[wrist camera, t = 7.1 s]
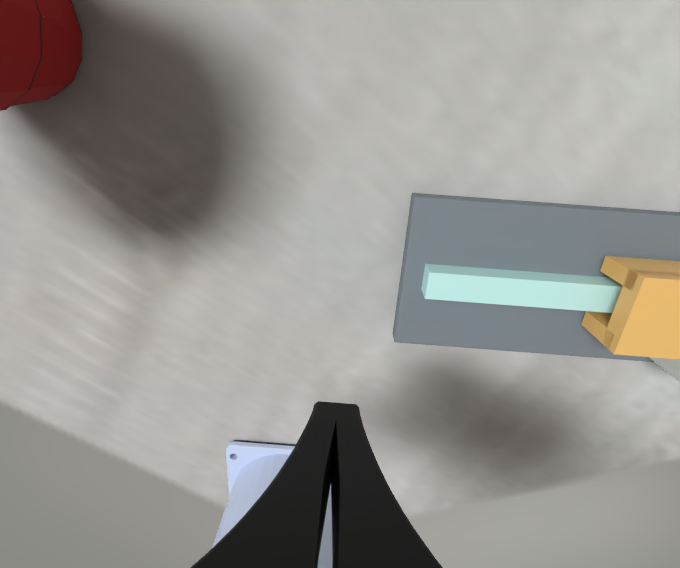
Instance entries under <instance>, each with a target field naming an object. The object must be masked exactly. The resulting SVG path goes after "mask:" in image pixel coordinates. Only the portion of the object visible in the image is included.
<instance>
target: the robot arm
mask: <svg viewBox="0 0 680 568" xmlns="http://www.w3.org/2000/svg"><path fill="white" fill-rule="evenodd" d="M233 454H236V455H233ZM226 459H227V474H228V489H229V499H228V502H227V505H226V508H225V511H224V514H223V517H222V520H221V523H220V526H219V529H218V532H217V535H216V538H215V541H214V544H213V547H212V549H211V550H210V551H209V552H208V553H207V554H206V555H205V556H203V557H202V558H201V559H200V560H199V561H198V562H197V563H195V564H194V565H193V566H192V567H191V568H442V566H441V565H440V564H439V563H438V561H437V560H436V559H435V557H434V556H433V555H432V553H431V552H430V550H429V549H428V548H427V546H426V545H425V544H424V542H423V541H422V539H421V538H420V536H419V535H418V534H417V532H416V531H415V529H414V528H413V526H412V525H411V523H410V522H409V520H408V519H407V517H406V515H405V514H404V512H403V511H402V509H401V507H400V505H399V504H398V502H397V500H396V499H395V497H394V495H393V493H392V491H391V490H390V488H389V486H388V484H387V482H386V480H385V478H384V476H383V474H382V472H381V470H380V468H379V465H378V463H377V461H376V459H375V456H374V454H373V451H372V449H371V447H370V444H369V441H368V439H367V436H366V433H365V430H364V427H363V424H362V420H361V416H360V411H359V407H358V406H357V405H356V404H344V403H331V402H319V401H318V402H317V403H315V405H314V408H313V411H312V414H311V416H310V419H309V421H308V423H307V425H306V427H305V429H304V431H303V433H302V435H301V437H300V438H299V440H298V442H297V444H296V446H286V445H273V444H260V443H248V442H235V441H234V442H230V443H229V444H228V445H227V447H226Z"/></svg>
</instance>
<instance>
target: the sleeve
mask: <svg viewBox="0 0 680 568" xmlns="http://www.w3.org/2000/svg"><path fill="white" fill-rule="evenodd" d="M600 271H601V272H602V273H604V274H605V275H607V276H609V277H610V278H612V279H613V280H615V281H617V282H618V283H620V284H621V285H623V287H622V290H621V292H620V295H619V297H618V300H617V303H616V305H615V308H614V310H613V313H605V312H592V311H586V312H585V315H584V318H583V321H582V324H581V325H582V326H583V327H584V328H586V329H587V330H588V331H589V332H590V333H591V334H592V335H593V336H594V337H595V338H596V339H598V340H599V341H600V342H601V343H602V344H603V345H604V346H605V347H606V348H607V349H608V350H610V351H611V352H612V353H613V354H615V355H628V356H641V357H654V358H667V359H680V261H669V260H656V259H642V258H629V257H615V256H605V258H604V261H603V264H602V267H601V270H600Z"/></svg>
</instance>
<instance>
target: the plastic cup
mask: <svg viewBox="0 0 680 568" xmlns="http://www.w3.org/2000/svg"><path fill="white" fill-rule="evenodd" d="M80 62H81V30H80V27H79V24H78V21H77V18H76V15H75V12H74V9H73V6H72V3H71V1H70V0H0V111H1V110H6V109H7V108H8V107H10V106H12V105H18V104H24V103H29V102H35V101H41V100H46V99H49V98H50V97H51V96H54V95H56V94H58V93H59V92H60V91H61V90H63V89H64V88H65V87H66V86H68V85H69V84H70V83H71V82H72V81H73V79H74V76H75V74H76V71H77V69H78V67H79V64H80Z"/></svg>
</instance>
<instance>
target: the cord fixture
mask: <svg viewBox="0 0 680 568" xmlns="http://www.w3.org/2000/svg"><path fill="white" fill-rule="evenodd" d="M605 256H615V257H629V258H642V259H656V260H669V261H680V213H679V212H666V211H652V210H638V209H624V208H611V207H597V206H583V205H569V204H556V203H542V202H528V201H514V200H501V199H487V198H473V197H459V196H446V195H432V194H418V193H412V196H411V204H410V211H409V218H408V226H407V233H406V240H405V248H404V255H403V262H402V270H401V277H400V284H399V292H398V299H397V306H396V314H395V321H394V328H393V337H394V342H400V343H413V344H426V345H439V346H452V347H465V348H478V349H491V350H504V351H517V352H530V353H543V354H556V355H570V356H583V357H596V358H609V359H622V360H635V361H648V362H655V363H656V364H658V365H659V366H660V367H661V368H663V369H664V370H665V371H666V372H667V373H669V374H670V375H671V376H672V377H674V378H675V379H676V380H677V381H678V382H680V359H667V358H654V357H641V356H628V355H615V354H613V353H612V352H611V351H610V350H608V349H607V348H606V347H605V346H604V345H603V344H602V343H601V342H600V341H599V340H598V339H596V338H595V337H594V336H593V335H592V334H591V333H590V332H589V331H588V330H587V329H586V328H584V327H583V326H582V325H581V324H582V321H583V318H584V315H585V312H586V311H592V312H605V313H613V310H614V308H615V305H616V303H617V300H618V297H619V295H620V292H621V290H622V287H623V285H621V284H620V283H618V282H617V281H615V280H613V279H612V278H610V277H609V276H607V275H605V274H604V273H602V272H601V271H600V270H601V267H602V264H603V261H604V258H605Z"/></svg>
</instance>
